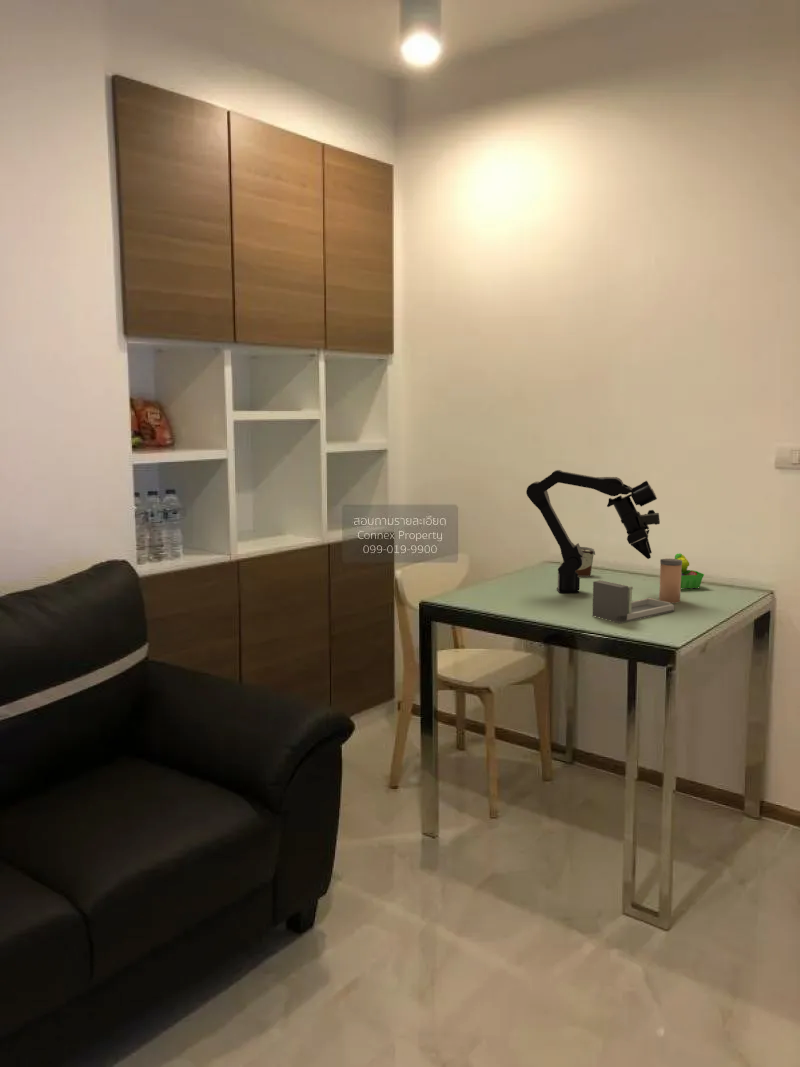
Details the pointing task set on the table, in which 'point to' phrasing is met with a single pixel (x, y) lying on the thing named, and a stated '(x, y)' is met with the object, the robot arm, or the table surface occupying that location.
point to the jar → (670, 580)
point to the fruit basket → (689, 574)
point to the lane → (623, 603)
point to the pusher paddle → (629, 598)
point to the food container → (586, 562)
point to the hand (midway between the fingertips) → (649, 555)
